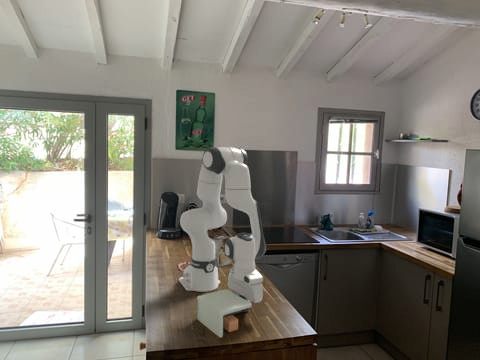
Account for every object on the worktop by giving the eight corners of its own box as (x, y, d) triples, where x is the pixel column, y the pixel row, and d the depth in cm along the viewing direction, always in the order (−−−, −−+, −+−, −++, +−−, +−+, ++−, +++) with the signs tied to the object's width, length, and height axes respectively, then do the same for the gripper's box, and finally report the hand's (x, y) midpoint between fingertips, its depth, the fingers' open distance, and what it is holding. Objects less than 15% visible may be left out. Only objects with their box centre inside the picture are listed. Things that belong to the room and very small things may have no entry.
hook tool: (207, 318, 141) (207, 304, 141) (244, 307, 152) (244, 294, 152) (217, 326, 135) (217, 311, 135) (255, 314, 146) (255, 300, 145)
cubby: (196, 318, 142) (197, 296, 141) (226, 310, 150) (226, 289, 149) (220, 337, 128) (220, 312, 128) (251, 327, 137) (251, 303, 136)
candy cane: (177, 270, 195) (178, 262, 210) (177, 273, 195) (178, 264, 210) (191, 270, 196) (191, 262, 211) (191, 272, 196) (191, 264, 211)
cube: (223, 327, 136) (223, 317, 135) (232, 325, 138) (232, 315, 138) (229, 332, 133) (229, 321, 132) (238, 329, 135) (238, 319, 134)
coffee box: (224, 261, 216) (225, 235, 214) (231, 264, 211) (231, 237, 209) (212, 264, 210) (212, 237, 209) (218, 267, 205) (219, 239, 204)
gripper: (224, 267, 155) (223, 298, 156) (253, 281, 139) (252, 316, 140) (236, 264, 159) (235, 294, 160) (265, 278, 142) (265, 312, 143)
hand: (243, 305), depth 150 cm, fingers closed on hook tool, 3 cm apart
